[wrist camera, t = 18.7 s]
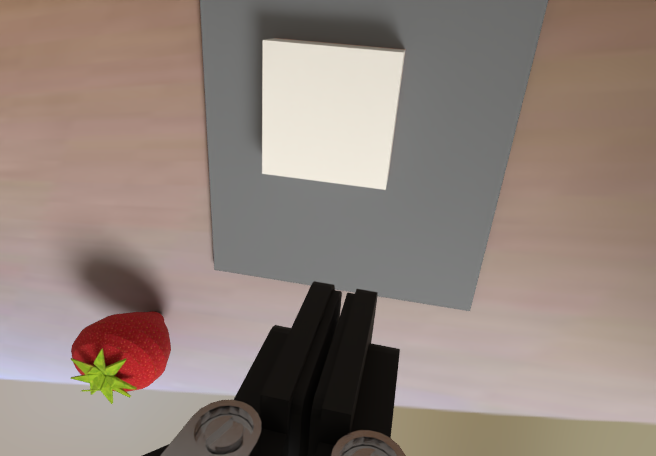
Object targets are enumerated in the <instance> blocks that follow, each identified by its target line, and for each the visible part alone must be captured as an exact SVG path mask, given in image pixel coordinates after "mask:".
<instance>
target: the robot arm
mask: <svg viewBox="0 0 656 456" xmlns="http://www.w3.org/2000/svg"><path fill="white" fill-rule="evenodd" d="M377 294H378V292H374V291H368V290H362V289H356V292H355V294H352V293H347V296H346V299H345V302H344V305H343V308H342V311H341V315H340V307H341V296H342V292H341V291H335V285H333V284H328V283H322V282H316V281H314V282H313V283H312V285H311V287H310V289H309V291H308V294H307V296H306V298H305V300H304V302H303V304H302V306H301V309H300V311H299V313H298V315H297V317H296V319H295V321H294V324H293V326H292V328H287V327H282V326H277V325H275V326H273V327H272V329H271V330H270V332H269V334H268V336H267V338H266V340H265V342H264V344H263V345H262V347H261V349H260V351H259V353H258V355H257V357H256V359H255V361H254V362H253V364H252V366H251V368H250V370H249V372H248V374H247V376H246V378H245V380H244V381H243V383H242V385H241V387H240V389H239V391H238V393H237V395H236V397H235V398H234V400H221V401H217V402H213V403H210V404H209V405H207V406H205V407H203V408H201V409H200V410H199V411H198V412H197V413H196V414H194V415H193V416H192V418H191V419H190V420H189V421H188V422H187V424H186V425H185V426H184V427H183V429H182V430H181V431H180V432H179V434H178V435H177V436H176V437H175V438H174V440H173V441H172V442H171V443H170V444H169V445H166V446H164V447H162V448H159V449H157V450H155V451H152V452H150V453H148V454H145V455H143V456H406V455H405V454H404V452H403V451H402V449H401V448H400V446H399V445H397V443H395V442H394V441H393V440H392V439H391V438H390V436H391V428H392V418H393V409H394V399H395V390H396V381H397V371H398V362H399V352H400V349H396V348H391V347H386V346H381V345H376V344H371V340H372V332H373V325H374V317H375V310H376V302H377Z"/></svg>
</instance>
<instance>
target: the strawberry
mask: <svg viewBox="0 0 656 456" xmlns="http://www.w3.org/2000/svg"><path fill="white" fill-rule="evenodd" d="M170 351H171V345H170V338H169V332H168V329H167V327H166V325H165V323H164V318H163V316H162V315H161V314H160V313H158V312H132V313H123V314H115V315H111V316H108V317H106V318H104V319H101V320H99V321H97V322H95V323H93V324H91V325H89V326H87V327H86V328H84V329H83V330H82V331H81V333H80V334H79V336H78V337H77V338H76V340H75V341H74V343H73V345H72V349H71V352H72V358H73V359H72V358H71V360H72V361H73V363H74V365H75V367H76V369H77V370H78V372H79V373H80V374H81V376H75V377H71V379H75V380H79V381H83V382H87V383H90V390H82V391H91V394H93V393H94V392H96V391H98V390H101V392H102V393H103V394H104V395H105V396H106V398H107V399H108V400H109V401H110V402H111V404H112V403H113V392H112V391H117V392H119V393H121V394H123V395H125V396H127V397H130V395H129V394H128V393H127V391H133V390H138V389H143V388H145V387H147V386H149V385H150V384H151V383H153V382H154V381H155V380H156V379H157V378H158V377H159V376H161V375H162V373H163V372H164V371H165V367H166V364H167V361H168V358H169V355H170Z"/></svg>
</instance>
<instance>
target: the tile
mask: <svg viewBox="0 0 656 456" xmlns="http://www.w3.org/2000/svg"><path fill="white" fill-rule="evenodd" d="M405 50H406V49H395V48H383V47H372V46H361V45H349V44H338V43H326V42H315V41H304V40H292V39H281V38H272V39H266V40H263V60H262V174H268V175H276V176H283V177H291V178H299V179H306V180H314V181H322V182H329V183H337V184H344V185H352V186H360V187H367V188H375V189H382V190H386V186H387V181H388V175H389V168H390V161H391V153H392V146H393V138H394V131H395V124H396V116H397V109H398V101H399V94H400V87H401V79H402V72H403V64H404V57H405Z"/></svg>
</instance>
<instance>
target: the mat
mask: <svg viewBox="0 0 656 456" xmlns="http://www.w3.org/2000/svg"><path fill="white" fill-rule="evenodd" d="M547 3H548V0H200V10H201V29H202V48H203V66H204V85H205V103H206V122H207V140H208V159H209V177H210V196H211V215H212V233H213V252H214V270H219V271H225V272H231V273H237V274H244V275H250V276H256V277H262V278H268V279H274V280H281V281H287V282H293V283H299V284H305V285H312V283H313V282H314V281H316V282H322V283H328V284H333V285H335V289H336V290H342V291H349V292H356V289H362V290H368V291H374V292H378V294H377V296H379V297H386V298H392V299H398V300H404V301H410V302H416V303H423V304H429V305H435V306H441V307H447V308H453V309H460V310H466V311H470V309H471V305H472V301H473V297H474V293H475V289H476V285H477V281H478V277H479V273H480V269H481V265H482V261H483V257H484V253H485V249H486V245H487V241H488V237H489V233H490V229H491V226H492V222H493V218H494V214H495V210H496V206H497V202H498V198H499V194H500V190H501V186H502V182H503V178H504V174H505V170H506V166H507V162H508V158H509V154H510V150H511V146H512V142H513V138H514V134H515V130H516V126H517V122H518V118H519V114H520V111H521V107H522V103H523V99H524V95H525V91H526V87H527V83H528V79H529V75H530V71H531V67H532V63H533V59H534V55H535V51H536V47H537V43H538V39H539V35H540V31H541V27H542V23H543V19H544V15H545V11H546V7H547ZM272 38H281V39H292V40H304V41H315V42H326V43H338V44H349V45H361V46H372V47H383V48H395V49H406V50H405V57H404V64H403V72H402V79H401V87H400V94H399V101H398V109H397V116H396V124H395V131H394V138H393V146H392V153H391V161H390V168H389V175H388V181H387V186H386V190H382V189H375V188H367V187H360V186H352V185H344V184H337V183H329V182H322V181H314V180H306V179H299V178H291V177H283V176H276V175H268V174H262V60H263V40H266V39H272Z"/></svg>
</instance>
